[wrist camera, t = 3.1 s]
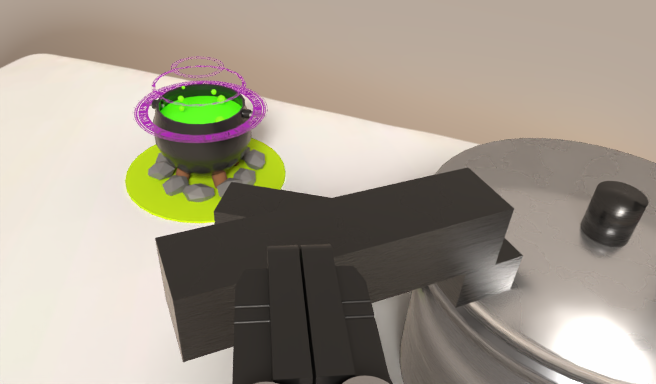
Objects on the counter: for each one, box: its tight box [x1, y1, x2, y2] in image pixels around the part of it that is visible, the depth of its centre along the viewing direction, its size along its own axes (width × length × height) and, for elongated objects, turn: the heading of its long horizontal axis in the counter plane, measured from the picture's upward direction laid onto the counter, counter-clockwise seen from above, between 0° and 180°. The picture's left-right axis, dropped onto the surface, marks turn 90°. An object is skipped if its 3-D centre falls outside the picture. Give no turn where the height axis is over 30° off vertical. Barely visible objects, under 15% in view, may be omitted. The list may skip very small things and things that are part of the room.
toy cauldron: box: [125, 60, 285, 223], centre depth 48 cm, size 15×15×11 cm
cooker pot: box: [214, 182, 582, 384], centre depth 33 cm, size 34×19×11 cm, turn 79°
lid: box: [155, 138, 656, 384], centre depth 25 cm, size 31×19×6 cm, turn 114°
